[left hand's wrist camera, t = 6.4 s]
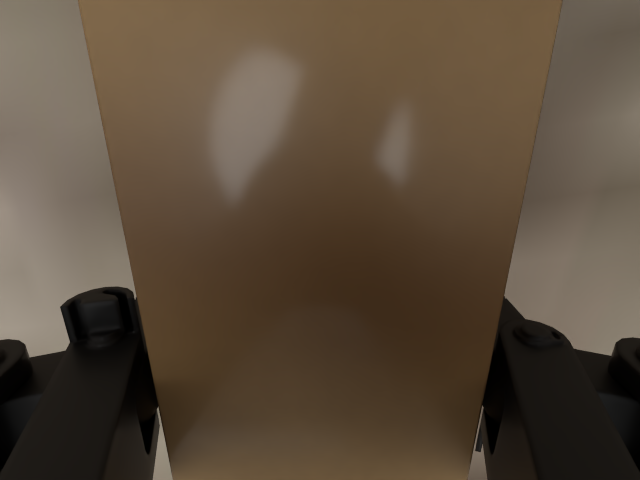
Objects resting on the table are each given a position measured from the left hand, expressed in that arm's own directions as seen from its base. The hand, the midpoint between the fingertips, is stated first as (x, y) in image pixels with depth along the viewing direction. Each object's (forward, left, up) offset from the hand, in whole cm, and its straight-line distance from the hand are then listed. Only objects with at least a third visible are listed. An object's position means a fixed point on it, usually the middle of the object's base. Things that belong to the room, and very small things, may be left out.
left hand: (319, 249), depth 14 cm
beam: (+6, +18, -1) cm, 19 cm away
